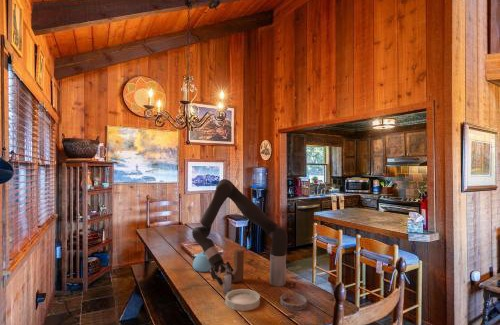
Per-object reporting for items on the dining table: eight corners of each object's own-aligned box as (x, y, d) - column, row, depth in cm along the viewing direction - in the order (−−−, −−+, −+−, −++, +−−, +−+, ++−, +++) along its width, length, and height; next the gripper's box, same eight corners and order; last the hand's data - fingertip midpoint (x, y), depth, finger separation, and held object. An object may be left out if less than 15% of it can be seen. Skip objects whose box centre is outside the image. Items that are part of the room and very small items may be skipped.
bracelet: (275, 305, 142) (275, 299, 142) (287, 295, 154) (287, 290, 154) (300, 314, 135) (300, 307, 135) (311, 302, 146) (311, 296, 146)
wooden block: (229, 283, 167) (230, 252, 167) (226, 280, 171) (227, 250, 171) (243, 280, 171) (244, 250, 171) (240, 278, 175) (240, 248, 175)
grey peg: (227, 289, 159) (227, 273, 159) (232, 291, 156) (233, 275, 156) (221, 292, 156) (221, 275, 156) (227, 294, 153) (227, 277, 153)
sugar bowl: (211, 274, 182) (211, 255, 182) (188, 271, 185) (189, 253, 185) (218, 265, 196) (218, 249, 196) (197, 264, 199) (198, 247, 199)
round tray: (241, 291, 157) (241, 286, 157) (266, 301, 146) (266, 295, 146) (218, 302, 143) (218, 296, 143) (244, 314, 133) (244, 308, 133)
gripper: (207, 255, 156) (222, 282, 148) (226, 250, 167) (240, 275, 159) (201, 263, 159) (214, 290, 152) (219, 257, 170) (233, 282, 163)
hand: (227, 282), depth 156 cm, fingers open, 8 cm apart
